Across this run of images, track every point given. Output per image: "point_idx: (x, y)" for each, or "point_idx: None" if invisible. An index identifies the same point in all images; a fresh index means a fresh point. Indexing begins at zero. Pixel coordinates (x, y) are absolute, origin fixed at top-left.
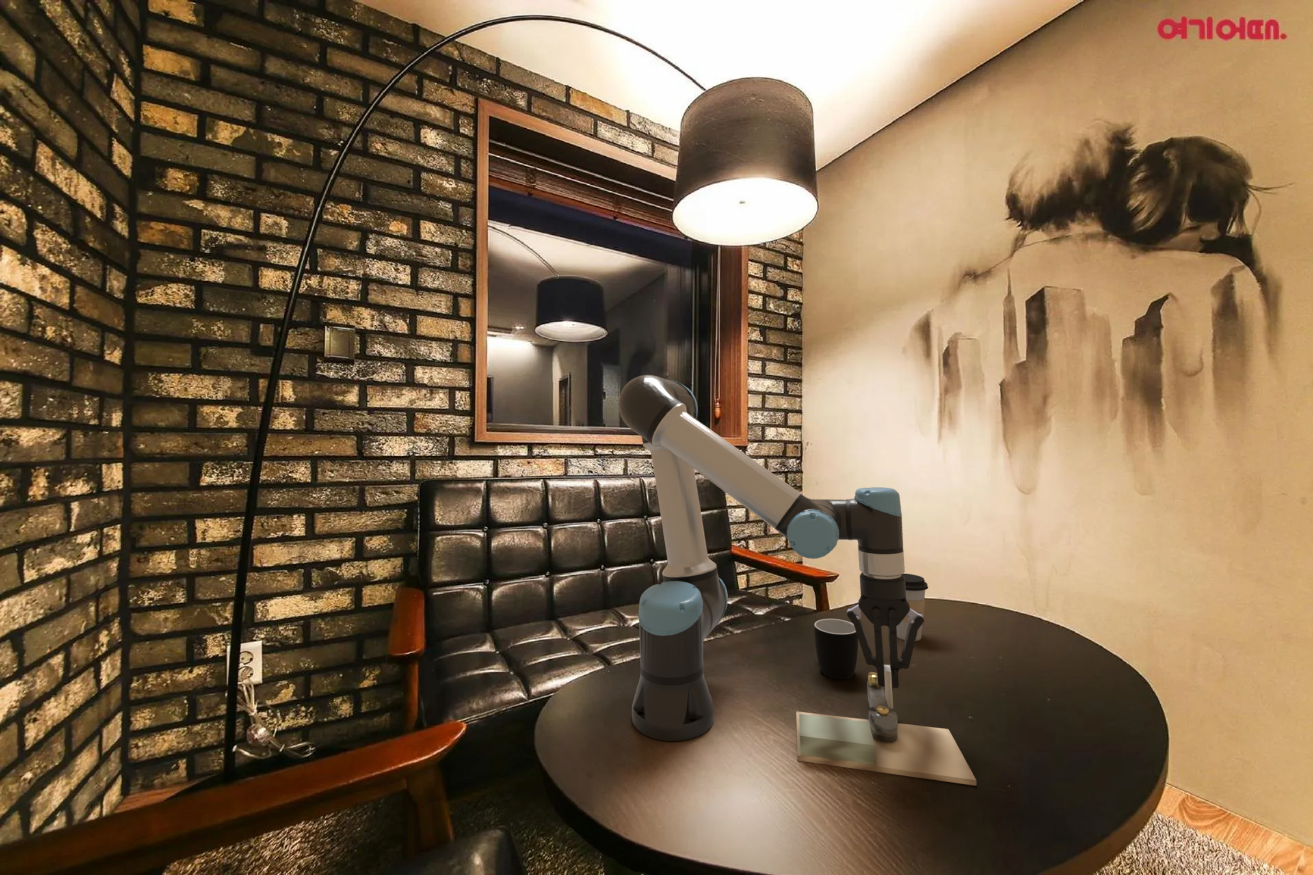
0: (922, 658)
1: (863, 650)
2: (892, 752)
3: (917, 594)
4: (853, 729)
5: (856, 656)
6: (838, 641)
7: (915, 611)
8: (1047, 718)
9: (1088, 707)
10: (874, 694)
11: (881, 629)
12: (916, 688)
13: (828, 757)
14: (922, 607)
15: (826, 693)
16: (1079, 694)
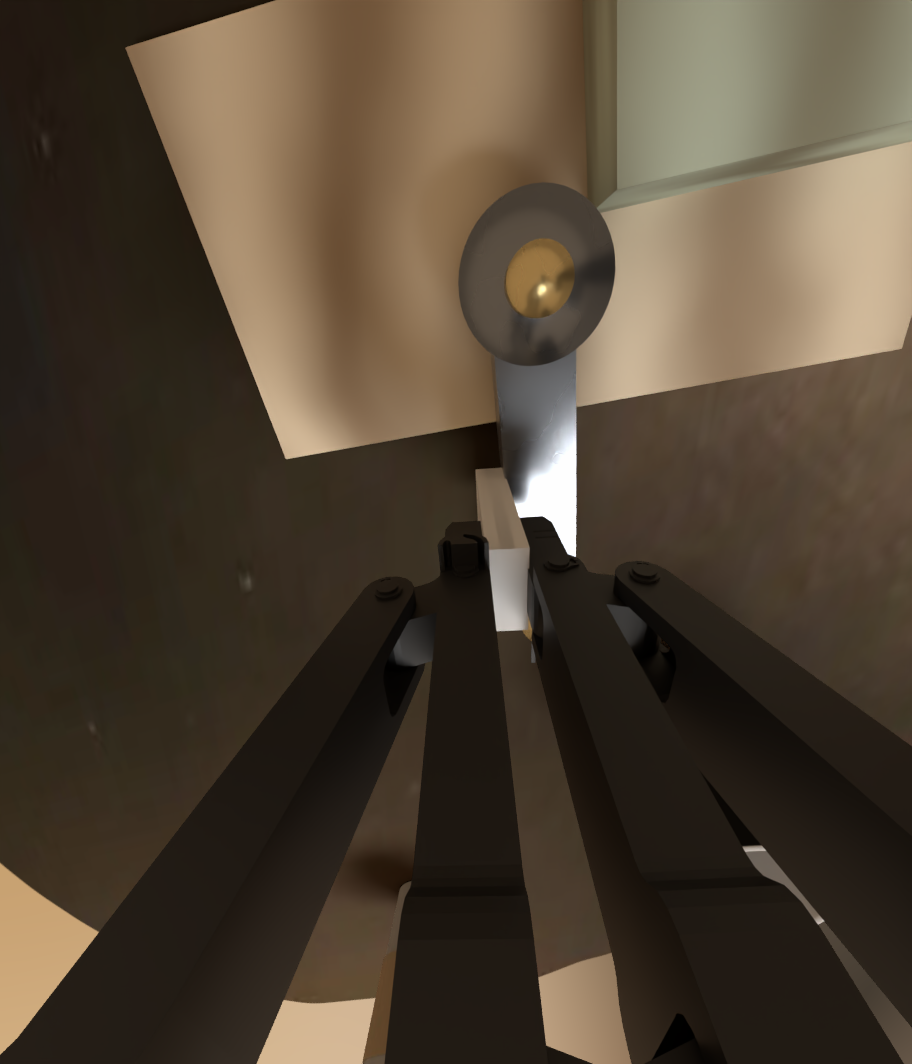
0: (393, 819)
1: (737, 631)
2: (486, 142)
3: None
4: (731, 15)
5: None
6: (724, 801)
7: None
8: (69, 643)
9: (8, 719)
10: (554, 511)
11: (685, 948)
12: None
13: None
14: (375, 1018)
15: (702, 568)
16: (41, 764)
